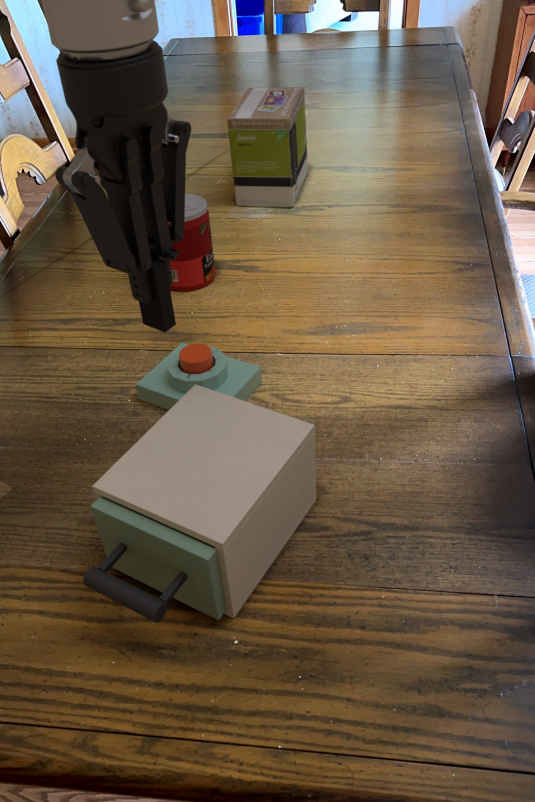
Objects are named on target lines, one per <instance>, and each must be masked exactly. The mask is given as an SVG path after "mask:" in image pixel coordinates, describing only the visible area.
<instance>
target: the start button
mask: <svg viewBox="0 0 535 802" xmlns="http://www.w3.org/2000/svg"><path fill="white" fill-rule="evenodd" d="M209 346H210V345H207V344H204V343H191V344H189V345H188V346H185V347H184V348H182V349H181V351H180V352H179V359H180V365H181V369H182V371H183V372H184V373H187V374H202V373H204V372H207V371H210V370H211V369H212V367H213V357H212V350H211V348H210V347H209Z"/></svg>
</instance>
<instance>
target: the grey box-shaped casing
mask: <svg viewBox="0 0 535 802" xmlns="http://www.w3.org/2000/svg"><path fill="white" fill-rule="evenodd" d="M316 464H317V463H316V425H315V424H314V423H310V422H308V421H305V420H301V419H299V418H296V417H293V416H289V415H287V414H283V413H281V412H278V411H275V410H272V409H269V408H267V407H263V406H260V405H257V404H254V403H252V402H249V401H246V400H245V401H243V400H240V399H237V398H234V397H231V396H228V395H225V394H222V393H219V392H216V391H213V390H210V389H207V388H204V387H201V386H199V385H194V386H193V387H192V388H191V389H190V390H189V391H188V392H187V393H186V394H185V395H184V396H183V397H182V398H181V399H180V400H179V401H178V402H177V403H176V404H175V405H174V406H173V407H172V408H171V409H170V410H167V412H166V413H165V414H164V415H163V416H161V418H159V420H157V421H156V422H155V423H154V424H153V425H152V426H151V428H149V429H148V430H147V431H146V432H145V433H144V434H143V435H142V436H141V437H140V438H139V439H138V440H137V441H136V442H135V443H134V444H133V445H132V446H131V447H130V448H129V449H128V450H127V451H126V452H125V453H123V455H122V456H121V457H120V458H119V459H118V460H117V461H116V462H114V464H113V465H112V466H111V467H110V468H109V469H108V470H107V471H106V472H105V473H103V474H102V475H101V477H100V478H99V479H98V480H97V481H95V483H94V484H93V485H92V490H93V494H94V497H95V501H96V500H97V499H98V498H99V497H102V498H104V499H106V500H108V501H111V502H113V503H115V504H117V505H119V506H122V505H123V506H125V507H128V508H130V509H132V510H134V511H137V512H139V513H141V514H143V515H146V516H148V517H150V518H152V519H154V520H157V521H159V522H161V523H163V524H166V525H168V526H170V527H172V528H174V529H177V530H179V531H181V532H183V533H186V534H188V535H190V536H192V537H195V538H197V539H199V540H201V541H203V542H206V543H208V544H210V545H212V546H215V549H216V550H217V556H218V562H219V568H220V574H221V580H222V586H223V592H224V598H225V605H226V611H225V612H224V614H223V615H225V616H228V617H230V618H232V619H235V618H236V616H237V615H238V613H239V612H240V611H241V609H242V608H243V606H244V605H245V604H246V602H247V601H248V600H249V598H250V596H251V595H252V593H253V592H254V591H255V589H256V588H257V586H258V585H259V583H260V582H261V581H262V579H263V578H264V576H265V574H266V573H267V571H269V568H270V567H271V566H272V564H273V563H274V562H275V560H276V558H278V556H279V554H280V553H281V552H282V550H283V548H284V547H285V546H286V544H287V543H288V541H290V539H291V537H292V535H293V534H294V533H295V531H296V530H297V528H298V527H299V525H300V524H301V523H302V521H303V520H304V518H305V517H306V515H307V514H308V512H309V511H310V510H311V508H312V506H313V505H314V504H315V503H316V501H317V470H316V469H317V467H316Z"/></svg>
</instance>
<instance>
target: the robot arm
mask: <svg viewBox="0 0 535 802" xmlns="http://www.w3.org/2000/svg"><path fill="white" fill-rule="evenodd" d="M41 2H42V6H43V10H44V16H45V20H46V25H47V29H48V33H49V34H48V35H49V39H50V42H51V43H50V44H51V45H52V46H53V47H55V48H56V49H57V50H60V52H59V54H58V55H57V58H56V60H55V63H56V66H57V70H58V75H59V79H60V84H61V88H62V93H63V97H64V101H65V104H66V106H67V108H68V110H69V111H70V113H71V114H72V116H73V118H74V120H75V124H76V125H75V126H76V131H75V137H74V144H75V147H76V150H77V152H76V154H75V155H74V157H73V158H72V160H71V162H70V164H69V166H59V167H57V169H56V171H55V180H56V181H57V182H58V184H59V185H60V186H61V187H63V188H64V189H65V190H66V191H67V192H68V193H69V194H70V195H71V197H72V199H73V201H74V203H75V205H76V207H77V209H78V211H79V213H80V216H81V218H82V220H83V221H84V224H85V226H86V228H87V230H88V232H89V234H90V236H91V238H92V240H93V242H94V244H95V247H96V248H97V251H98V253H99V255H100V257H101V260H102V261H103V264H104V265H105V266H106V267H108V268H110V269H113V270H115V271H119V272H122V273H124V274H127V277H128V281H129V285H130V286H129V287H130V291H131V296H132V298H133V299H134V300H135V301H137V302H138V304H139V310H140V315H141V321H142V324H143V325H144V326H147V327H149V328H152V329H154V330H157V331H160V332H162V333H167V332H168V331H169V330H171V329H172V328H174V327H175V326H176V325H177V323H176V317H175V311H174V305H173V297H172V292H171V289H170V287H171V286H172V282H173V279H172V275H171V274H172V273H171V267H170V260H175V259H176V258H177V256H178V250H176V249H173V248H172V246H173V244H174V243H175V242H181V241H182V240H183V237H184V218H185V194H186V173H187V172H186V171H187V169H186V167H187V149H188V146H189V141H190V138H191V134H192V126H191V123H190V122H189V121H185V120H180V119H174V118H172V117H170V116H169V113H168V110H167V107H166V106H165V104H164V101H165V100H166V98H167V97H168V94H169V87H168V78H167V72H166V65H165V58H164V50H163V47H162V46H161V45H160V44H159V42H157V41H156V40H154V39H155V38H156V37H157V36H158V35H159V34H160V28H159V27H160V26H159V21H158V19H159V18H158V14H157V13H158V12H157V7H156V6H157V5H156V0H41ZM96 171H97V172H96ZM103 189H104V190H103ZM168 222H170V223H171V226H170V225H168ZM169 259H170V260H169Z"/></svg>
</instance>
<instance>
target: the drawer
mask: <svg viewBox="0 0 535 802" xmlns="http://www.w3.org/2000/svg"><path fill="white" fill-rule="evenodd" d="M90 509H91V512H92V516H93V519H94V521H95V524H96V528H97V531H98V534H99V538H100V540H101V544H102V546H103V550H104V552H105V556H106V558H105V559H104V560H103V562H102V563H100V565H99V566H98V567H97V566H90V567H89V568H88V569H87V571H86V572H85V574H84V575H83V580H82V584H83V586H86V588H89V589H91V590H92V591H95V592H96V593H98V594H99V595H102V596H104V597H105V598H108V599H110V600H112V601H114V602H115V603H117V604H119V605H121V606H123V607H125V608H127V609H128V610H131V611H132V612H134V613H137V615H138V614H139V615H140V616H142V617H144V618H146V619H148V620H150V621H151V622H153V623H155V624H159V623H160V622H161V621H162V620H163V619H164V618H165V616H166V614H167V611H168V604H169V603H170V601H171V600H172V599H174V600H177V601H179V602H181V603H183V604H185V605H187V606H189V607H191V608H192V609H195V610H197V611H199V612H201V613H203V614H205V615H207V616H209V617H211V618H212V619H215V620H216V621H220V619H221V618H222V617H223V615H225V614H224V612H225V611H226V605H225V598H224V592H223V586H222V580H221V574H220V568H219V562H218V556H217V550H216V549H215V546H212V545H210V544H208V543H206V542H203V541H201V540H199V539H197V538H195V537H192V536H190V535H188V534H186V533H183V532H181V531H179V530H177V529H174V528H172V527H170V526H168V525H166V524H163V523H161V522H159V521H157V520H154V519H152V518H150V517H148V516H146V515H143V514H141V513H139V512H137V511H134V510H132V509H130V508H128V507H125V506H123V505H122V506H119V505H117V504H115V503H113V502H111V501H108V500H106V499H104V498H102V497H99V498H98V499H97V500H96V499H95V500H94V501H93V503H92V504H91V505H90ZM111 568H113V569H114V570H117V571H119V572H121V573H123V574H125V575H126V576H129V577H131V578H132V579H135V580H137V581H138V582H141V583H142V584H145V585H147V586H149V587H151V588H153V589H155V590H157V591H159V592H161V593H162V594H161V595H160V596H159V597H156V596H154V595H152V594H150V593H148V592H147V591H144V590H143V589H141V588H138V587H136V586H135V585H133V584H131V583H128V582H127V581H125V580H122V579H121V578H119V577H117V576H115V575H113V574H111V573H109V571H110V570H111Z"/></svg>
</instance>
